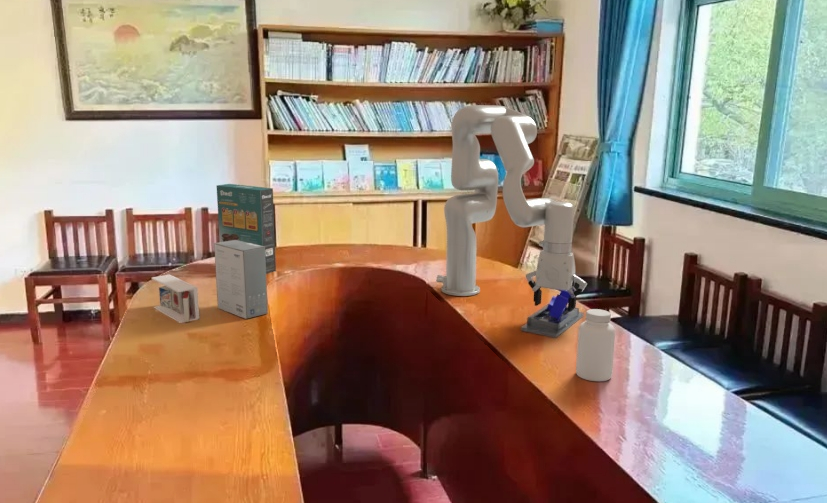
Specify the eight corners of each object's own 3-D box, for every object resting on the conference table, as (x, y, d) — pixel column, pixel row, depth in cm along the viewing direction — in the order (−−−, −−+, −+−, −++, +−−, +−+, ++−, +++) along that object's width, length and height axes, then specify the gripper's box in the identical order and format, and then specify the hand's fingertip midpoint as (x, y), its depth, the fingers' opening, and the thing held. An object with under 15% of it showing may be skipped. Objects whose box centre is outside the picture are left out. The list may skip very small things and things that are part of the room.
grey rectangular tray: (520, 330, 182) (521, 320, 181) (550, 310, 200) (551, 300, 199) (556, 337, 177) (556, 326, 176) (583, 316, 195) (584, 306, 194)
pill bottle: (612, 371, 155) (617, 309, 152) (610, 384, 148) (615, 319, 144) (577, 366, 157) (581, 305, 154) (573, 379, 150) (578, 315, 147)
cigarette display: (153, 308, 199) (151, 277, 197) (171, 304, 203) (169, 274, 201) (182, 324, 185) (180, 291, 183) (201, 320, 188) (199, 288, 186)
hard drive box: (269, 314, 194) (266, 246, 190) (246, 320, 189) (242, 250, 184) (238, 303, 204) (235, 238, 200) (216, 308, 199) (212, 242, 195)
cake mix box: (275, 271, 243) (272, 188, 236) (263, 274, 238) (260, 190, 231) (233, 262, 254) (229, 183, 248) (220, 266, 249) (216, 185, 243)
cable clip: (549, 305, 194) (557, 286, 193) (564, 311, 193) (572, 292, 192) (543, 312, 183) (551, 292, 182) (558, 319, 182) (567, 299, 180)
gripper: (522, 246, 185) (519, 305, 189) (584, 254, 176) (579, 316, 180) (533, 241, 191) (530, 299, 195) (593, 248, 182) (588, 309, 186)
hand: (554, 307), depth 187 cm, fingers open, 9 cm apart
